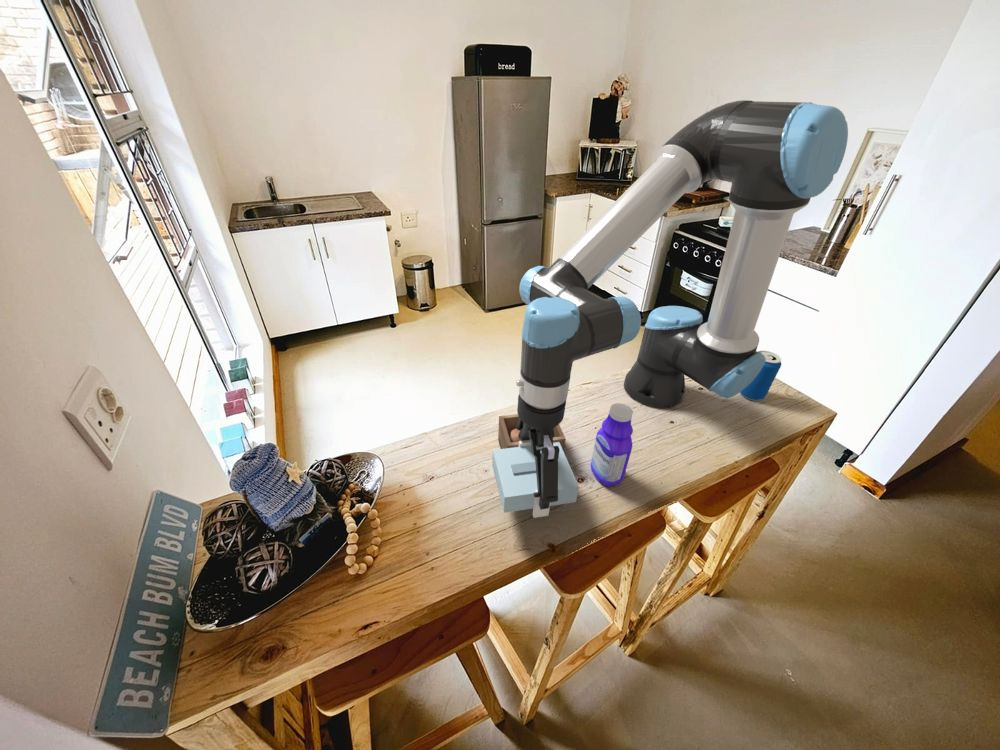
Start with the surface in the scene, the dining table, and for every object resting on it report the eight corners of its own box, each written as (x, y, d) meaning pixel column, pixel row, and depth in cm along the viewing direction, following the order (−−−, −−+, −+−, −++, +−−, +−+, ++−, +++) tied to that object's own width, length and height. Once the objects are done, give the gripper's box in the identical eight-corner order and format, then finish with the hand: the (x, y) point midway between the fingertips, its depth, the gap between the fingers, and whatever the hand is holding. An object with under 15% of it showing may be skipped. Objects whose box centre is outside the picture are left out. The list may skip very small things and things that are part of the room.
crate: (549, 433, 95) (552, 410, 91) (561, 462, 88) (565, 438, 84) (498, 439, 93) (499, 416, 89) (506, 470, 86) (507, 445, 82)
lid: (556, 456, 82) (559, 440, 79) (575, 501, 73) (579, 485, 70) (492, 464, 79) (492, 448, 77) (503, 512, 71) (504, 495, 68)
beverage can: (769, 402, 107) (789, 364, 100) (744, 402, 106) (762, 363, 100) (756, 387, 112) (774, 350, 105) (732, 387, 112) (749, 349, 105)
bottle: (584, 466, 87) (597, 401, 77) (606, 458, 89) (622, 394, 79) (604, 492, 82) (621, 426, 72) (627, 483, 84) (647, 418, 74)
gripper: (503, 357, 73) (500, 446, 86) (539, 452, 54) (528, 548, 67) (544, 354, 75) (534, 442, 87) (593, 445, 56) (572, 541, 68)
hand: (531, 488), depth 77 cm, fingers closed on lid, 11 cm apart
